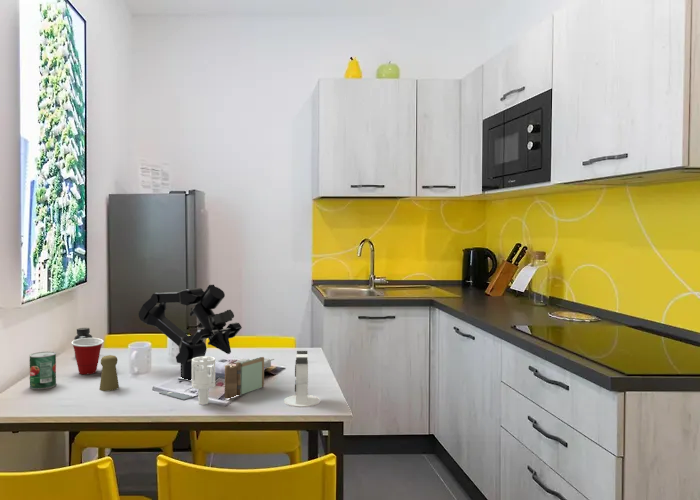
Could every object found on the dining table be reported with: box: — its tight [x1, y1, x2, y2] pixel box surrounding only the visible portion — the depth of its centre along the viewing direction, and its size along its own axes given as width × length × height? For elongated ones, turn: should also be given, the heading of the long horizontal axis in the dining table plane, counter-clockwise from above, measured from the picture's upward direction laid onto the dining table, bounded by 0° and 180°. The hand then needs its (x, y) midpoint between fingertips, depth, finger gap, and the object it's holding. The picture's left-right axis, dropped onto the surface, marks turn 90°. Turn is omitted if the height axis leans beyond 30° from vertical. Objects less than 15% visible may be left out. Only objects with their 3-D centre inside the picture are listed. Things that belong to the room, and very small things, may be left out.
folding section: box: [241, 356, 265, 395], centre depth 189 cm, size 2×11×10 cm, turn 147°
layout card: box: [158, 390, 193, 401], centre depth 185 cm, size 12×9×1 cm
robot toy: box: [233, 358, 275, 368], centre depth 215 cm, size 12×4×15 cm
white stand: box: [283, 350, 321, 408], centre depth 179 cm, size 12×11×15 cm
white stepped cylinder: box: [191, 355, 216, 406], centre depth 175 cm, size 7×7×15 cm
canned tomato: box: [29, 351, 57, 390], centre depth 191 cm, size 8×8×11 cm
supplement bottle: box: [73, 327, 94, 359], centre depth 232 cm, size 7×7×12 cm
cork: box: [99, 354, 120, 392], centre depth 190 cm, size 6×6×11 cm
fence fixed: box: [224, 362, 242, 399], centre depth 181 cm, size 2×6×11 cm, turn 147°
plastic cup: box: [71, 337, 104, 375], centre depth 209 cm, size 11×11×12 cm
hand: (229, 353), depth 192 cm, fingers closed
